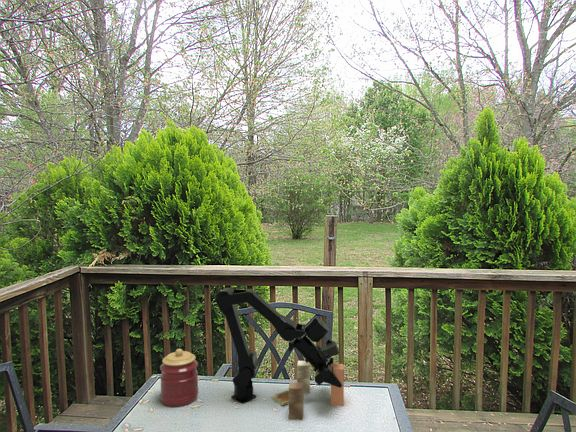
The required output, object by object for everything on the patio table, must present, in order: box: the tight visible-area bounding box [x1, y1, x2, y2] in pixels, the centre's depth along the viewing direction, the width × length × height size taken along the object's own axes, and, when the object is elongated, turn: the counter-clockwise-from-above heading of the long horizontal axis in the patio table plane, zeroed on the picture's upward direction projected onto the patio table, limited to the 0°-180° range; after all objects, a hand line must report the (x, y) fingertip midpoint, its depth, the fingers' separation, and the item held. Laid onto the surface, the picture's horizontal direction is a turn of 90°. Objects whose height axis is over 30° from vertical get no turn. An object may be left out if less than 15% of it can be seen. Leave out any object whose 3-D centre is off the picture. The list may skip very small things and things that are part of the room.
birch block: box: [296, 360, 311, 394], centre depth 144 cm, size 4×4×10 cm
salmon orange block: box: [330, 363, 345, 407], centre depth 135 cm, size 4×4×12 cm
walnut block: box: [288, 381, 305, 421], centre depth 126 cm, size 4×4×10 cm
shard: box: [271, 389, 289, 406], centre depth 138 cm, size 11×8×2 cm
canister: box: [159, 348, 199, 407], centre depth 138 cm, size 13×13×18 cm
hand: (341, 383), depth 134 cm, fingers closed on salmon orange block, 4 cm apart
